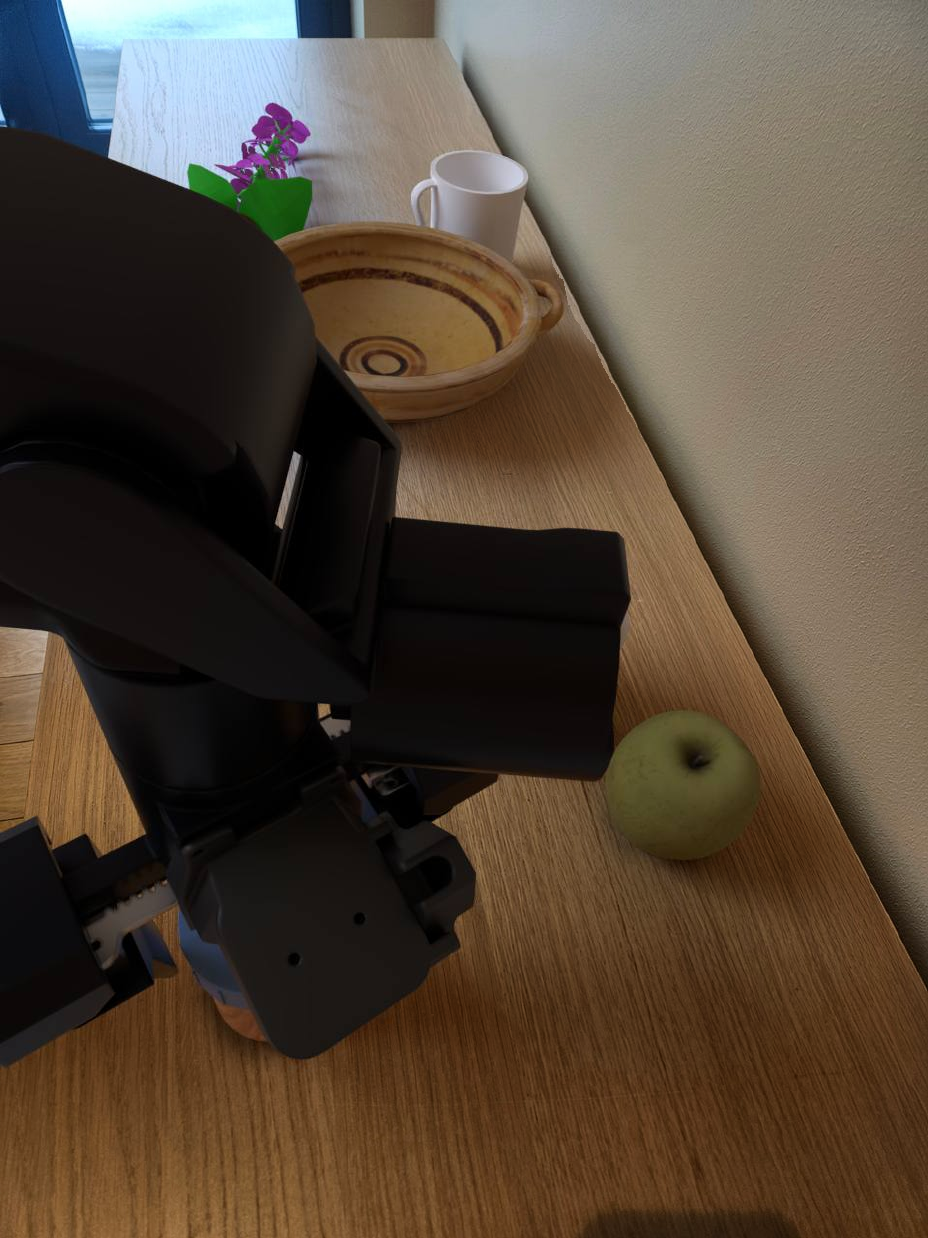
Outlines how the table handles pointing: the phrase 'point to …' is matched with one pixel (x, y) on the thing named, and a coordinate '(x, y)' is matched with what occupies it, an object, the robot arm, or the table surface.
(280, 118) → the potted plant
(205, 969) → the jar lid
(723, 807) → the apple
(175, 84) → the table surface
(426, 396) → the ceramic bowl
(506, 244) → the mug
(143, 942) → the robot arm
